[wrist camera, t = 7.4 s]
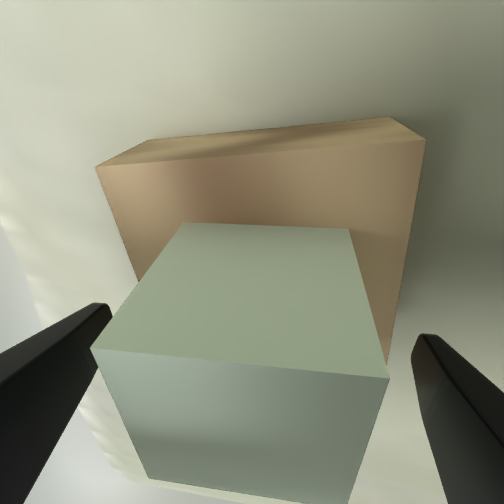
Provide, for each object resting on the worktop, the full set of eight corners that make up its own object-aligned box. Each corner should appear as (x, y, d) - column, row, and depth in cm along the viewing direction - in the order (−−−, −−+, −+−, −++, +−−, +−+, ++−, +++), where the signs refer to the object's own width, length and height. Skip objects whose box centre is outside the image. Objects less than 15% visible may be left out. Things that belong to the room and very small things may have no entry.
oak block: (387, 115, 11) (426, 139, 7) (366, 307, 15) (384, 376, 12) (151, 138, 12) (94, 166, 9) (196, 306, 17) (171, 367, 14)
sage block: (348, 228, 9) (389, 377, 5) (329, 346, 11) (345, 509, 7) (183, 222, 10) (89, 347, 5) (201, 334, 12) (148, 478, 8)
